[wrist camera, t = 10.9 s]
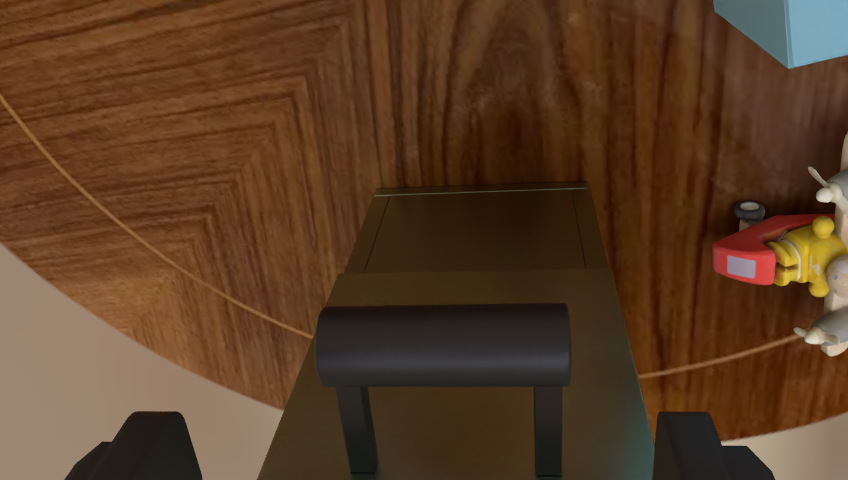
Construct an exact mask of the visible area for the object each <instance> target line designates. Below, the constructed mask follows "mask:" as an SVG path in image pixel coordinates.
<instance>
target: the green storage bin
mask: <svg viewBox="0 0 848 480" xmlns="http://www.w3.org/2000/svg"><path fill="white" fill-rule="evenodd" d="M596 268H609V267H608V263H607V259H606V255H605V250H604V246H603V242H602V238H601V234H600V230H599V225H598V221H597V217H596V213H595V209H594V205H593V200H592V196H591V192H590V188H589V184H588V182H587V181H579V182H551V183H523V184H496V185H468V186H440V187H412V188H385V189H376V191H375V194H374V197H373V199H372V202H371V204H370V207H369V210H368V212H367V215H366V217H365V220H364V223H363V225H362V228H361V230H360V233H359V235H358V238H357V241H356V243H355V246H354V248H353V251H352V254H351V256H350V259H349V261H348V264H347V266H346V269H345V272H344V274H357V273H405V272H453V271H501V270H548V269H596Z"/></svg>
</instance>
